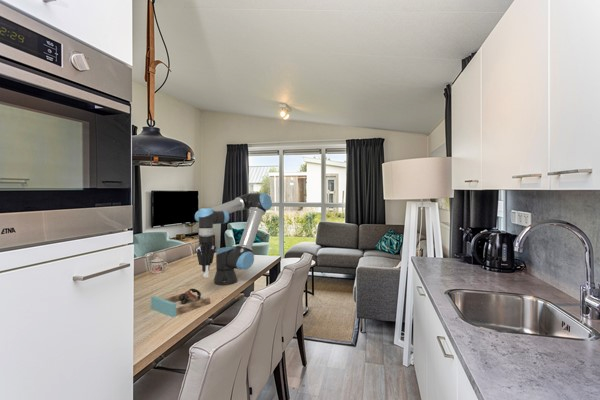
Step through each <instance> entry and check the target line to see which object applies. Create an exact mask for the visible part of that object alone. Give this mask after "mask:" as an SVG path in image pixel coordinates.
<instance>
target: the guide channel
mask: <svg viewBox="0 0 600 400" xmlns="http://www.w3.org/2000/svg"><path fill="white" fill-rule="evenodd" d="M184 293H185V292H183V293H182V292H181V293H179V294H175V295H173V296H169V297H166V298H164V299H165V300H168V301H170V302H173V303H176V302H180V301H179V296H180V295H181V294H184ZM189 298H191V297H189V295H188V299H189ZM210 304H211V297H206V298H202V299H200V300H199V301H197V302H195V301H193V302H191V303H188V304H185V305H182V306H179V307H176V316H175V317H177V316H180V315H182V314H186V313H188V312H191V311H193V310H196V309H200V308H201V307H204V306H207V305H210Z"/></svg>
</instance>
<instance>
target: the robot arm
mask: <svg viewBox="0 0 600 400" xmlns="http://www.w3.org/2000/svg"><path fill="white" fill-rule="evenodd" d="M272 201H273V200H272V197H271V196H270V195H269V194H268V193H264V192H260V193H259V192H256V193H255V192H253V193H252V192H251V193H246V194H243V195H240V196H237V197H235V198H234V199H232V200H230V201H227V202H224V203H222V204H218V205H216V206H213V207H208V208H207V207H202V208H199V210H197V211H196V212H195V214H194V220H195V221H196V222H198V235H199V236H198V247H197V248H195V249H194V251H195V252H196V256H197V260H198V265H199V266H202V267H201V270H202V272H203V273H202V274H203V275H202V277H203V278H209V271H210V266H211V265H212V264H213V262H214V256H215V262H216V263H215V265H216V272H215V275H214V278H213V284H214V285H218V286H228V285H233V284H236V283H237V281H238V278H237V274H236V271H235V269H236V270H237V269H238V270H244V271H246V270H248V269H250V268H251V267H252V266H253V264H254V262H255V255H254V253H253V252H254V251H253V248H252V247H253V245H254V242H255V239H256V237H257V232H258V229H259V228H260V227H259V226H260V224H261V221H262V217H264V216H265V215H266V212H267V211H268V210H270V209H271V208H272V204H273V203H272ZM243 210H249V211H250V212H249V215H248V218H247V221H246V224H245V226H244V228H243V232H242V234H241V238H240V240H239V244H236V246H235V247H234V246H226V247H221V248H218V249H217V246H216V245H215V246H214V245H213V242H214V237H213V234H214V225H219V224H220V225H221V224H226V223H228V222H229V220H230V214H232V213H235V212H237V211H243ZM215 252H216V254H215ZM235 282H236V283H235Z"/></svg>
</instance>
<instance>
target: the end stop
mask: <svg viewBox="0 0 600 400" xmlns="http://www.w3.org/2000/svg"><path fill="white" fill-rule="evenodd" d="M165 299H166V298H162V297H159V296H156V295H154V296H151V297H150V300H151V301H150V302H151V303H150V305H151V306H150V309H151V310H154V311H156V312H159V313H160V314H163V315H166V316H168V317H171V318H174V317H177V316H176V308H177V303H176V302H174V303H173V302H170V301H168V300H165Z"/></svg>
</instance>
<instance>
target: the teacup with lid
mask: <svg viewBox="0 0 600 400" xmlns="http://www.w3.org/2000/svg"><path fill="white" fill-rule="evenodd" d="M165 264H166V267H164V265H165ZM168 267H169V263H168V261H165V260H164V259H163V258H160V256H156V257H155V258H154V259H152V260H150V273H151V274H154V275H155V274H156V275H157V274H163V273H164V272H165V269H167V268H168Z"/></svg>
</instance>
